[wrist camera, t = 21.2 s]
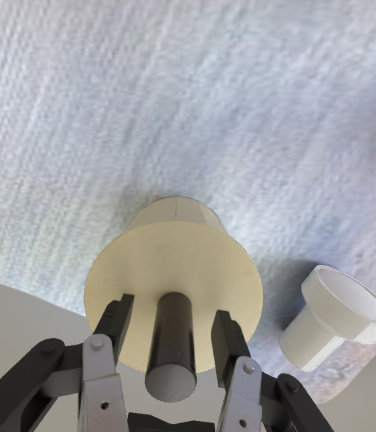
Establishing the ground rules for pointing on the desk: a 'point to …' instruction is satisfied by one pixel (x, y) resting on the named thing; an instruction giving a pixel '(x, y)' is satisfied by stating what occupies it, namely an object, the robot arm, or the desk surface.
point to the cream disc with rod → (174, 297)
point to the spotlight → (329, 317)
